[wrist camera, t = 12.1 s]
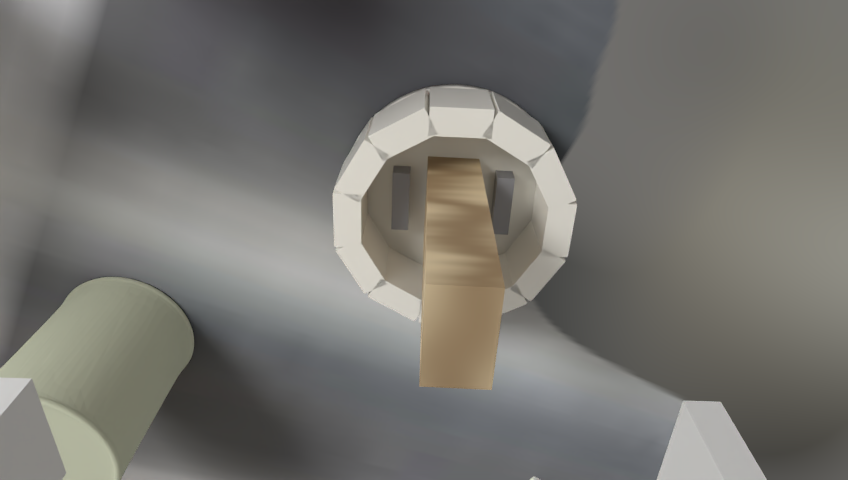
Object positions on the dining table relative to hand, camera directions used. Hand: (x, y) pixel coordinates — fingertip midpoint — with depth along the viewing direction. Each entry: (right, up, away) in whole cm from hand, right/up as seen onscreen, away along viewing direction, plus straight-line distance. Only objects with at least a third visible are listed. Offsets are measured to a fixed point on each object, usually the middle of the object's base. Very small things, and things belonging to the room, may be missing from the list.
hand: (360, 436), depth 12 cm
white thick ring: (+3, +7, +24) cm, 26 cm away
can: (-20, -2, +30) cm, 36 cm away
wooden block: (+3, +7, +24) cm, 25 cm away
